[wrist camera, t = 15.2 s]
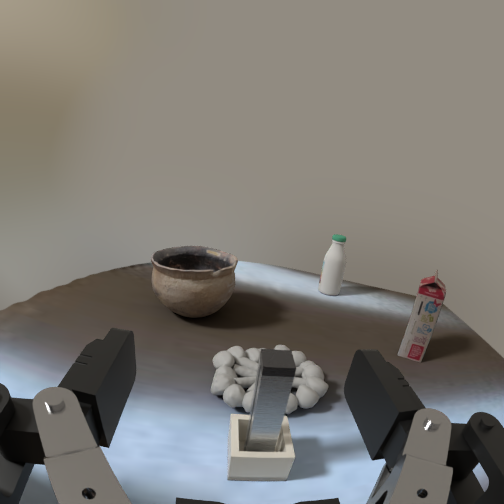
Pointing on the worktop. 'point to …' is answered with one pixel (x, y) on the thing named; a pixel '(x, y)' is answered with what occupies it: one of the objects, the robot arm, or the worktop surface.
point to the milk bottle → (333, 267)
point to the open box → (258, 454)
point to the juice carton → (423, 318)
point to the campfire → (246, 367)
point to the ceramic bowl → (193, 279)
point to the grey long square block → (269, 399)
